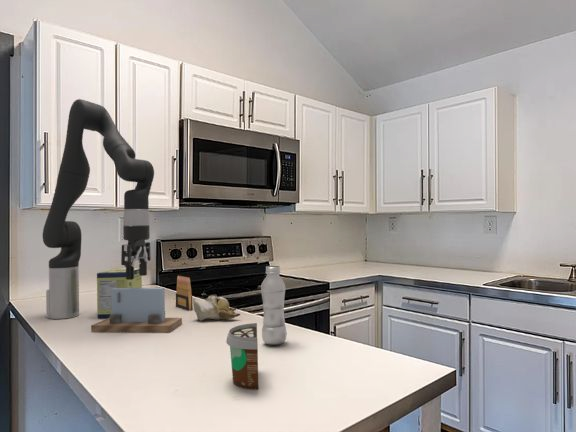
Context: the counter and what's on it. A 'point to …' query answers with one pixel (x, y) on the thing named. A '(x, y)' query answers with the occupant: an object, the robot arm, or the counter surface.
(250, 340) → the food container
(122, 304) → the door
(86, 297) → the counter surface
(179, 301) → the ammunition clip
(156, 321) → the cabinet base
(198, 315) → the ceramic sculpture
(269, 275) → the plastic bottle
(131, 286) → the protein box
